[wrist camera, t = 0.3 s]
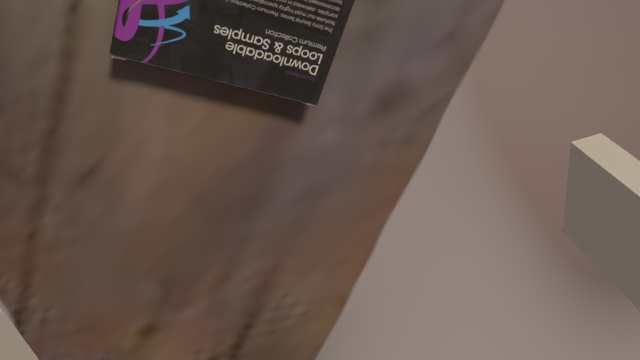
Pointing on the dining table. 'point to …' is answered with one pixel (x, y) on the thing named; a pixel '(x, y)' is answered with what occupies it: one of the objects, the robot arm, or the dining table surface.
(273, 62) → the box
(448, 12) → the dining table surface
